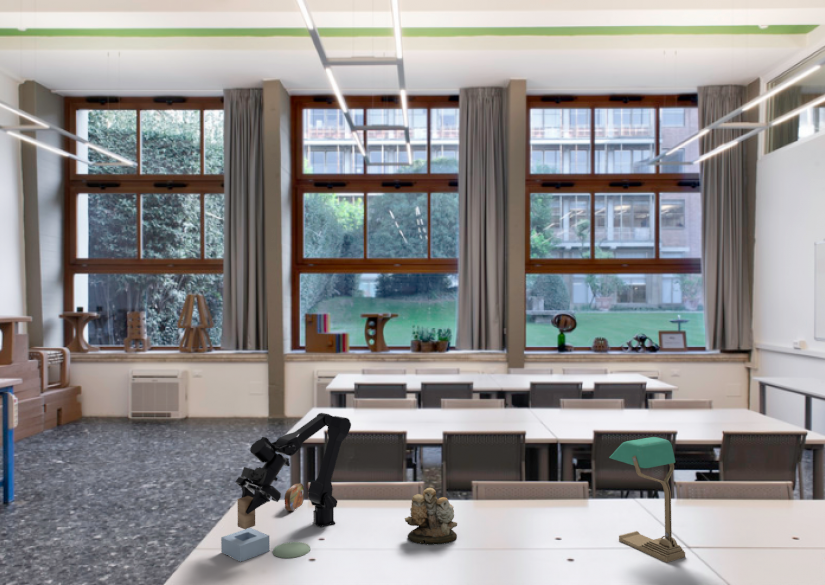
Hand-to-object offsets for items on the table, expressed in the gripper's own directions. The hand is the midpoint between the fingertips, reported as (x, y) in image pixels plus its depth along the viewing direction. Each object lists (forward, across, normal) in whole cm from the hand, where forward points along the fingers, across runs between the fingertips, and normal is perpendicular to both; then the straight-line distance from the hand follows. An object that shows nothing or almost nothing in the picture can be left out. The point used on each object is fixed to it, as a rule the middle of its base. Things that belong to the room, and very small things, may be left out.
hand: (242, 511), depth 200 cm
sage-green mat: (+2, +11, +18) cm, 21 cm away
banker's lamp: (-52, +100, +72) cm, 133 cm away
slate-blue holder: (+9, 0, +10) cm, 14 cm away
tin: (-17, -22, +37) cm, 47 cm away
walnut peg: (+3, 0, +5) cm, 5 cm away
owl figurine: (-24, +40, +44) cm, 64 cm away
